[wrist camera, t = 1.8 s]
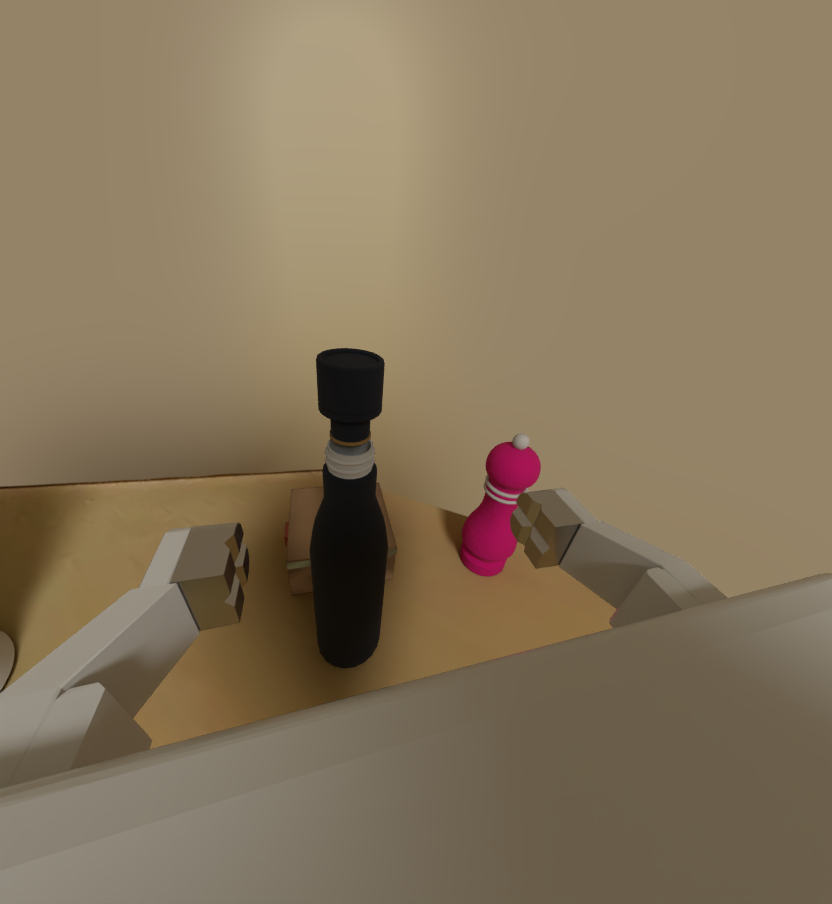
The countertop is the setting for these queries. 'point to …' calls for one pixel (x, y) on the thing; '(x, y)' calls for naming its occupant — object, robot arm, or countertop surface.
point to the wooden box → (301, 531)
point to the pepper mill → (498, 506)
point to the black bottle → (349, 511)
